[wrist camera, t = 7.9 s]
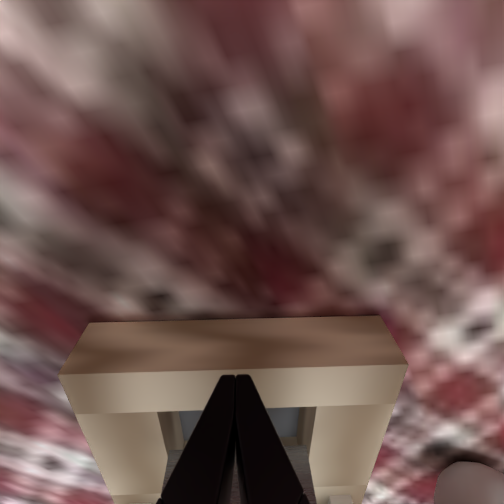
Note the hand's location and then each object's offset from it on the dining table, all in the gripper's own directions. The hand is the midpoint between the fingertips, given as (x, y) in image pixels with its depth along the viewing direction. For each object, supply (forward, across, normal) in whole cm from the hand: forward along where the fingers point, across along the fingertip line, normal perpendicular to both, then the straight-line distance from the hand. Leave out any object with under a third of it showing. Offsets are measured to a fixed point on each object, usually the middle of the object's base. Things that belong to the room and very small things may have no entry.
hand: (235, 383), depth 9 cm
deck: (+6, 0, +17) cm, 18 cm away
